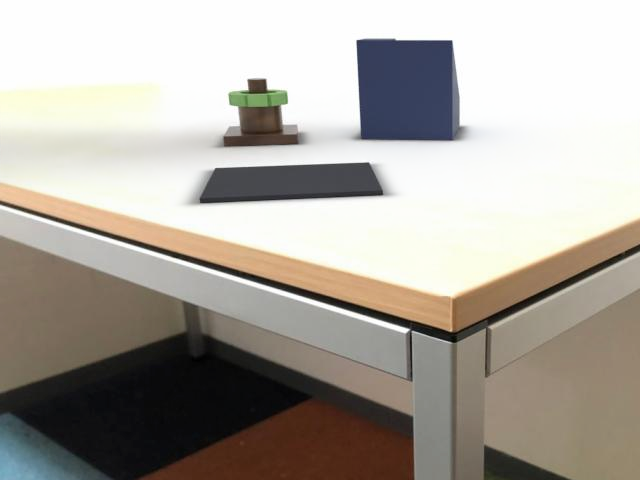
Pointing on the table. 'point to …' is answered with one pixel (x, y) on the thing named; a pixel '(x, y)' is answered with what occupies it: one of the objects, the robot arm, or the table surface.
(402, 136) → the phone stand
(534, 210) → the table surface
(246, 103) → the ring
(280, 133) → the stand
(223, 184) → the mat
